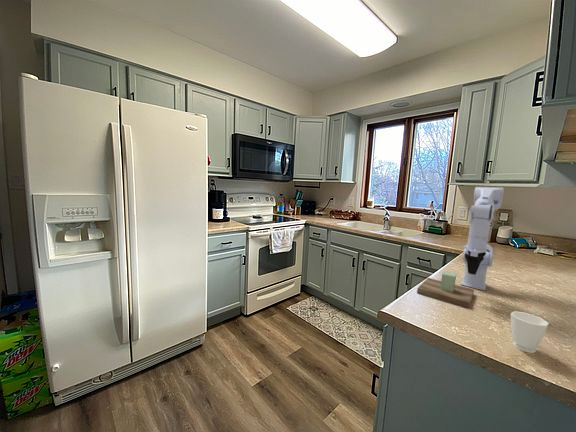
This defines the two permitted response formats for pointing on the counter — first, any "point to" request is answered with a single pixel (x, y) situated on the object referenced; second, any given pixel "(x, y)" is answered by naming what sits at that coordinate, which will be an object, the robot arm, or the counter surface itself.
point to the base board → (446, 293)
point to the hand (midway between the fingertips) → (473, 271)
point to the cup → (527, 331)
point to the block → (448, 281)
